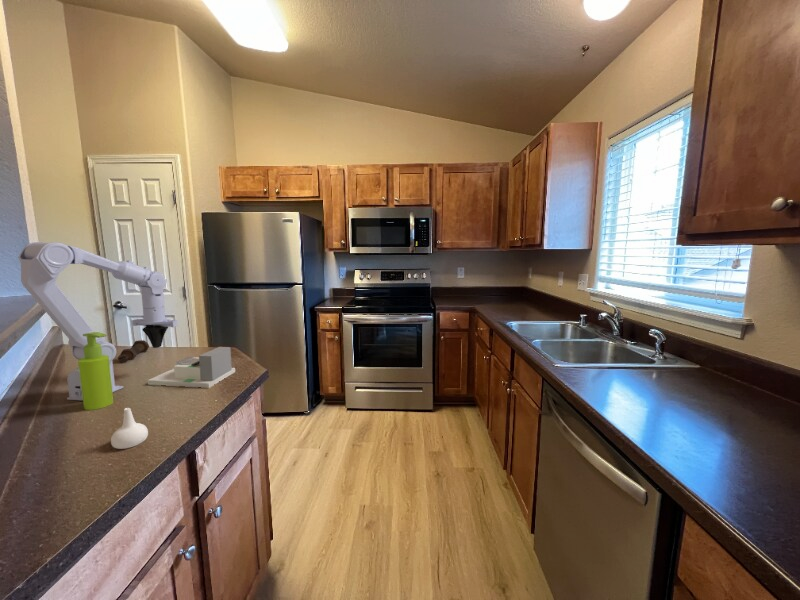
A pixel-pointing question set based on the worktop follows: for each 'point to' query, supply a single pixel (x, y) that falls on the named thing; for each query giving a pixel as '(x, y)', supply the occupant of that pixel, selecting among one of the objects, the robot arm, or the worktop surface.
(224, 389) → the worktop surface
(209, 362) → the architectural block model
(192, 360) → the grey block with bar
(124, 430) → the garlic bulb
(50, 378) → the worktop surface
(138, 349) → the bolt
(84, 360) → the soap dispenser
